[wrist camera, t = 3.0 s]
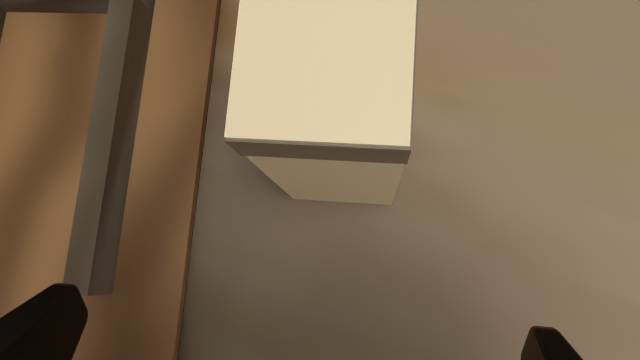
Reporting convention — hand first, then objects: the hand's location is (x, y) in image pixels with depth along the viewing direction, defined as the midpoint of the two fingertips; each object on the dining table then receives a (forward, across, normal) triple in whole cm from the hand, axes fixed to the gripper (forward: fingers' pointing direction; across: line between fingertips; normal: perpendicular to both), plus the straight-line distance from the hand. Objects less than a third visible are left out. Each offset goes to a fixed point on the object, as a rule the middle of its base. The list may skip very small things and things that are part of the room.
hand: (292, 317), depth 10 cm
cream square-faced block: (+13, 0, +5) cm, 14 cm away
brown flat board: (+13, +15, +5) cm, 21 cm away
